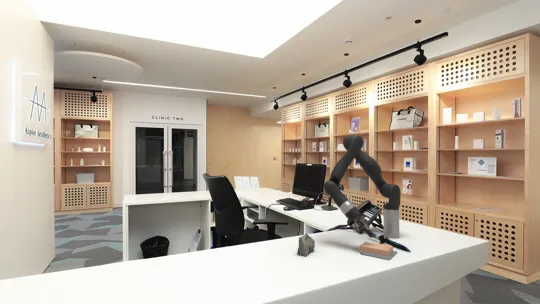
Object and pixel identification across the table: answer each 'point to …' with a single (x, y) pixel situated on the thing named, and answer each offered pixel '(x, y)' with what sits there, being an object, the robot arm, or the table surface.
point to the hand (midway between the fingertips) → (372, 236)
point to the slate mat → (380, 256)
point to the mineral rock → (305, 245)
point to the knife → (390, 242)
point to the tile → (376, 249)
